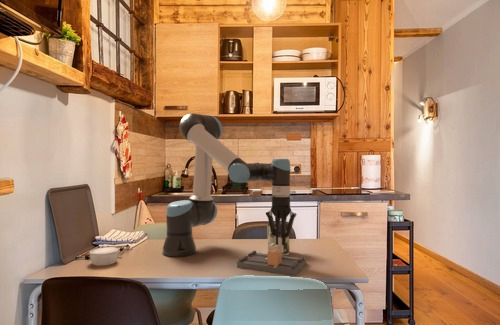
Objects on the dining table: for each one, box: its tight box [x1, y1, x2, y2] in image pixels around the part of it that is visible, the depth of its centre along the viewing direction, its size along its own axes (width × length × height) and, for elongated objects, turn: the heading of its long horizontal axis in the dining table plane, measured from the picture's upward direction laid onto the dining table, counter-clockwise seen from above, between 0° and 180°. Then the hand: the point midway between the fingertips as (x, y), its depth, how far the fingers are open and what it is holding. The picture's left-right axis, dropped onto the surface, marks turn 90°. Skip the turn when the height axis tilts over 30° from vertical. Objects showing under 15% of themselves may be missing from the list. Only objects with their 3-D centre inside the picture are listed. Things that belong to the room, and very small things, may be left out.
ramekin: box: [89, 246, 120, 267], centre depth 142 cm, size 11×11×5 cm
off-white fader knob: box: [267, 243, 278, 252], centre depth 143 cm, size 4×5×5 cm
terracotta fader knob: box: [267, 249, 282, 266], centre depth 133 cm, size 4×5×5 cm
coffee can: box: [266, 220, 290, 256], centre depth 158 cm, size 10×10×14 cm
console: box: [236, 250, 307, 276], centre depth 139 cm, size 24×17×3 cm
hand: (280, 252), depth 142 cm, fingers closed
